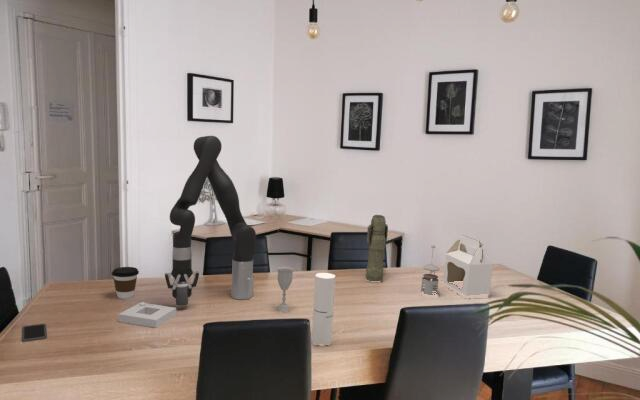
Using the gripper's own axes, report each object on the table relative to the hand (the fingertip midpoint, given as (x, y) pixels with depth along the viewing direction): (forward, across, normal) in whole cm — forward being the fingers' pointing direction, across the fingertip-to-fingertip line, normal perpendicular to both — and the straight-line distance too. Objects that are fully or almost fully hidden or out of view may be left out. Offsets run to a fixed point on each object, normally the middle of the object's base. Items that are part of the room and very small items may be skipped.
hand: (181, 296), depth 199 cm
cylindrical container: (+6, -46, +43) cm, 64 cm away
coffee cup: (+5, +23, -19) cm, 30 cm away
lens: (+3, 0, 0) cm, 3 cm away
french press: (+7, -118, +1) cm, 118 cm away
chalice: (+6, -41, +9) cm, 43 cm away
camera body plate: (+5, +13, +8) cm, 16 cm away
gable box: (+8, -139, 0) cm, 140 cm away
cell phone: (+5, +51, +15) cm, 53 cm away
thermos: (+7, -100, -25) cm, 103 cm away
